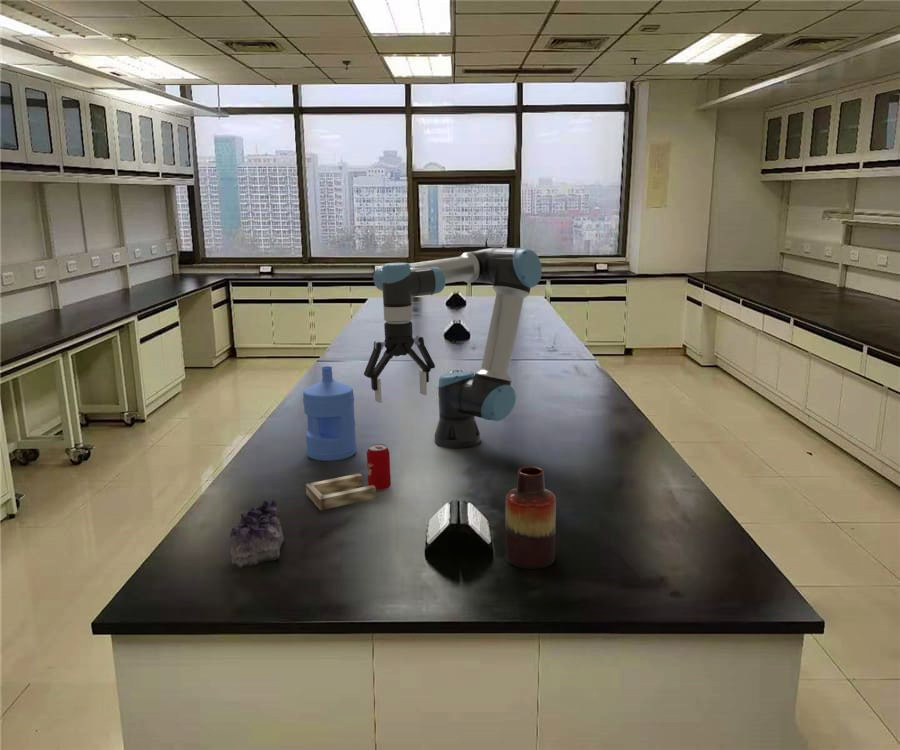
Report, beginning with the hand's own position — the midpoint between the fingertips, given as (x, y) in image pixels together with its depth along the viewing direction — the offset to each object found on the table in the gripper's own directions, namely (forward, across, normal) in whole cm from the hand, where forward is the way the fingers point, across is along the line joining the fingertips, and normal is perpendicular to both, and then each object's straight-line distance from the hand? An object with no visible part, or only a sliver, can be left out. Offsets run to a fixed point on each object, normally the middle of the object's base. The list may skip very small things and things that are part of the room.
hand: (401, 397), depth 194 cm
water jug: (+25, +10, -33) cm, 43 cm away
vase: (+25, -5, +55) cm, 60 cm away
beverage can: (+25, +8, +1) cm, 26 cm away
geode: (+24, +46, +20) cm, 56 cm away
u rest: (+24, +19, +1) cm, 31 cm away
